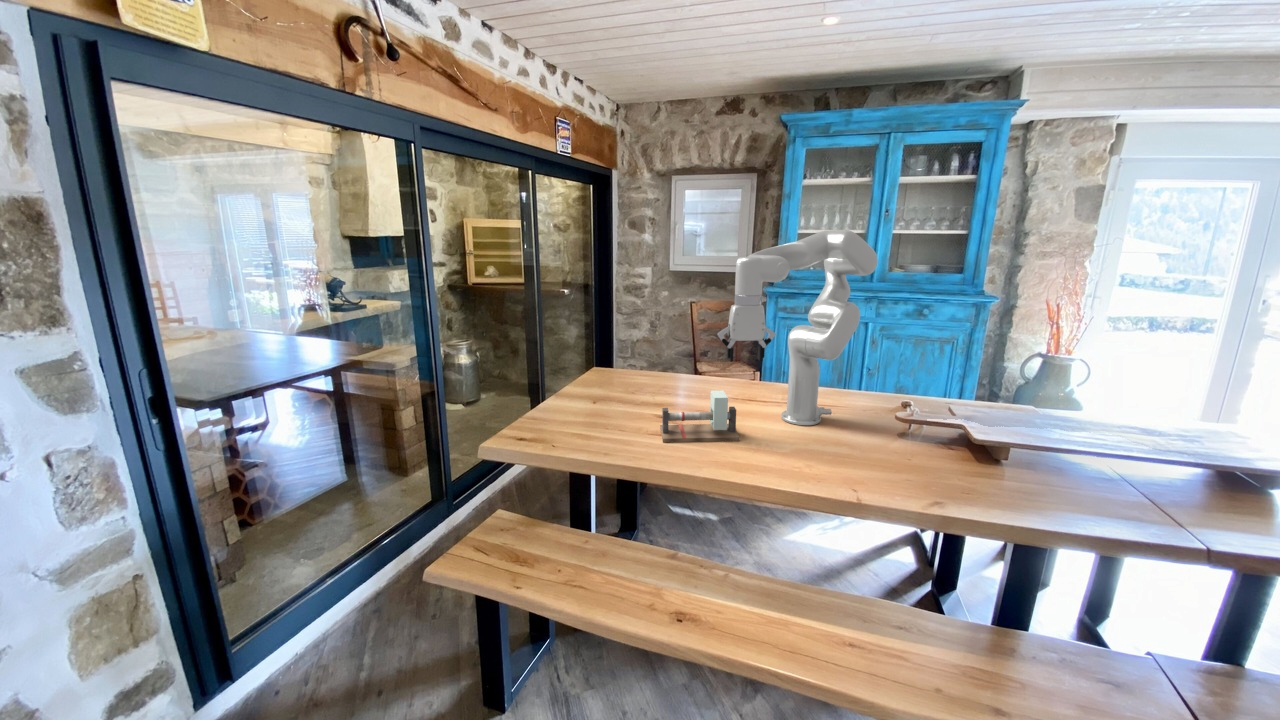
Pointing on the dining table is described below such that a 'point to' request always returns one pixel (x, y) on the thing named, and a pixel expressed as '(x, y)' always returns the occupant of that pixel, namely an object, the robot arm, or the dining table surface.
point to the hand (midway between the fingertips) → (745, 360)
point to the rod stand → (697, 427)
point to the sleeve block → (719, 410)
